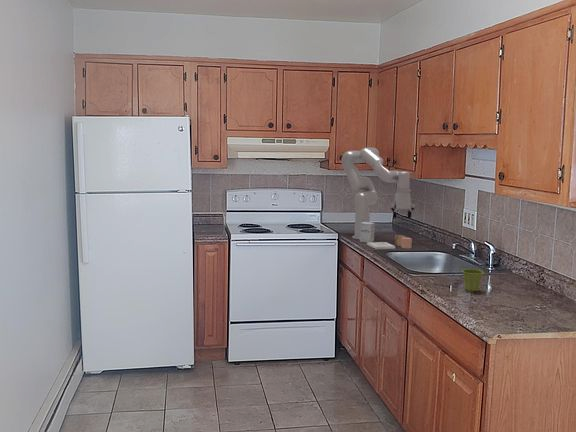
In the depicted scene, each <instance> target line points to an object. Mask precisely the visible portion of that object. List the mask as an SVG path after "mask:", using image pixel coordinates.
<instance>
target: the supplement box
mask: <svg viewBox="0 0 576 432" xmlns="http://www.w3.org/2000/svg"><path fill="white" fill-rule="evenodd" d="M375 224H376V222H372V221H369V222H362V223H361V231H360V239H359V242H360V243H366V244H367V243H371V242H374V241H375V226H376V225H375Z"/></svg>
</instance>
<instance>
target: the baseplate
mask: <svg viewBox="0 0 576 432" xmlns="http://www.w3.org/2000/svg"><path fill="white" fill-rule="evenodd" d="M366 245H367V246H369V248H370V247H371V248H373V249H374V248H375V250H391V249H396V245H395V244H391V243H389V242H385V241H380V242H379V241H377V242H371V243H366Z"/></svg>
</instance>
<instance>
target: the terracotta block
mask: <svg viewBox="0 0 576 432" xmlns="http://www.w3.org/2000/svg"><path fill="white" fill-rule="evenodd" d="M412 243H413V238H411V237H406V238H401V246H400V248H403V249H412V245H413V244H412Z"/></svg>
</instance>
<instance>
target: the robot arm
mask: <svg viewBox="0 0 576 432" xmlns="http://www.w3.org/2000/svg"><path fill="white" fill-rule="evenodd" d="M340 160H341V166H342V169H343V171H344V173H345V174H346V177H347V179H348V182H349V185H350V187H351V189H352V190H353V191H356V192H357V193H356V194H355V195H354V206H355V211H354V212H355V214H354V215H355V218H354V219H355V220H354V235H352V236H351V238H352V239H354V240H360V231H361V223H362V222H370V217H371V214H370V213H371V212H370V208H369V206H372V205H375V204H377V203H378V199H379V198H378V194H377V191H376V188H375V185H374V183H373V182H372V180H371V179H370V178H369V177H368V176H362V175H361V173H360V171H359V168H358V167H357V166H356V165H355V164H362V163H366V164H367V165H369V166H370V167H371V168H372V169H373V171H374V173H375V175H376V176H377V177H378V178H379V179H381V180H382V181H383V182H385V183H389V184H390V183H396V185H397V186H396V187H397V188H396V192H395V194H394V199H393V202H392V203H391V204H389V205H388V206H389V208H390V210H391V211H392V218H393V219H397V214H398V213H397V211H398V210H407V218H408V219H411V217H412V212H413V211H414V209H415V207H416V204H415V203H413V202H412V197H411V193H410V192H412V189H411V188H410V181H411V179H410V178H411V177H410V176H411V173H410V172H409V171H403V170H402V171H401V170H388V169H387V168H386V167H384V166H383V164H384V158H383V157H381V156H380V151H379V150H378V148H376V147H364V148H362V149H360V150H348V151H346V152H344V153H343V154H342V156H341V159H340Z"/></svg>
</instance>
